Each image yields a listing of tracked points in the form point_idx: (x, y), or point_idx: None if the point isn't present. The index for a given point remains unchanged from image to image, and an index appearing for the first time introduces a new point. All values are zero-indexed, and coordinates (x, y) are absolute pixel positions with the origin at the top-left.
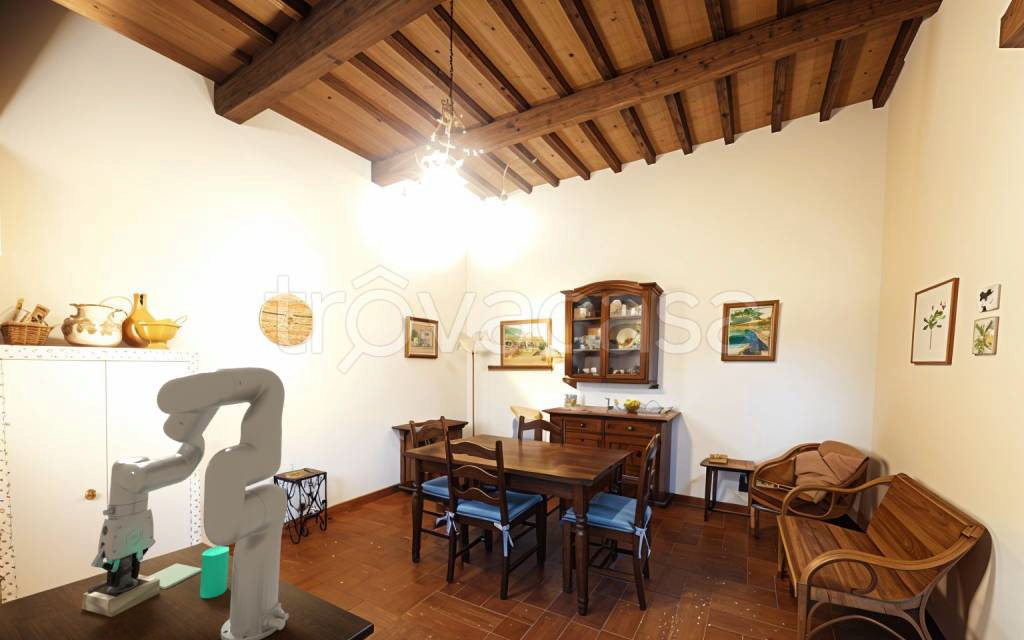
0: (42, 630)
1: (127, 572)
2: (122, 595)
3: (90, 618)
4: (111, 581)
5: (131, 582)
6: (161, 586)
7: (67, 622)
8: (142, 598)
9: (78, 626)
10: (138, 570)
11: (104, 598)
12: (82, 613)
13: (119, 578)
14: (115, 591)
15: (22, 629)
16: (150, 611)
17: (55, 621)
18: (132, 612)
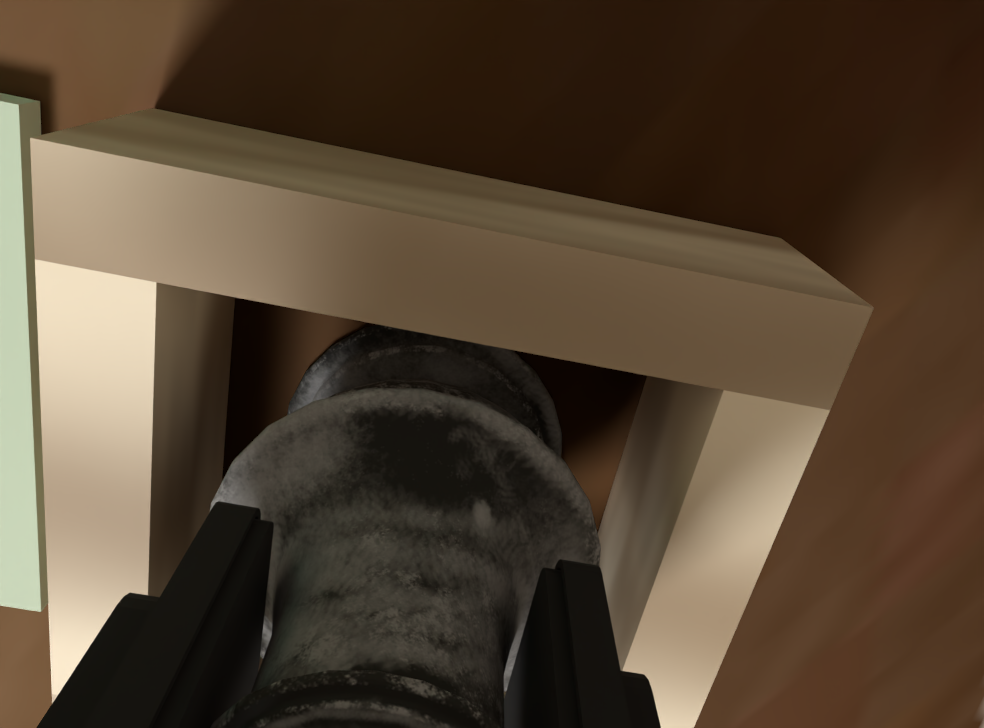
0: (977, 693)
1: (422, 678)
2: (671, 325)
3: None
4: (649, 714)
5: (349, 493)
6: (27, 195)
7: (858, 609)
8: (393, 164)
9: (952, 443)
10: (168, 594)
11: (768, 516)
12: None
13: (561, 664)
14: (574, 530)
15: None
16: None
17: (830, 716)
18: (669, 39)
